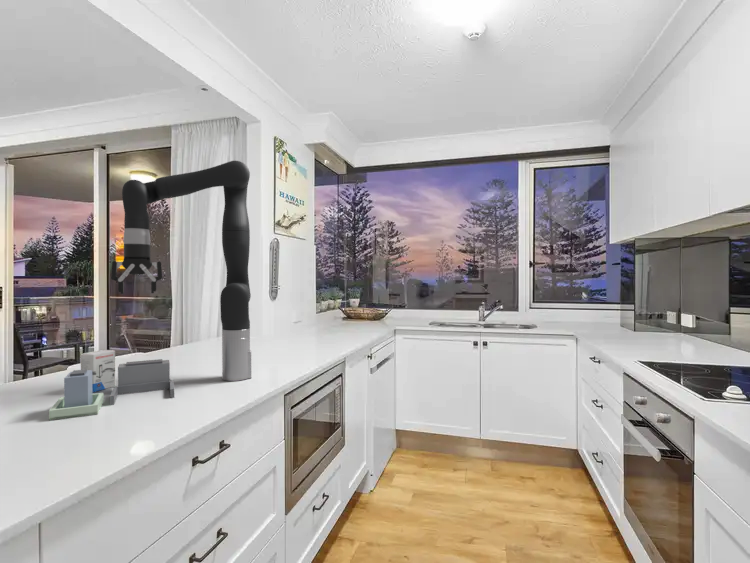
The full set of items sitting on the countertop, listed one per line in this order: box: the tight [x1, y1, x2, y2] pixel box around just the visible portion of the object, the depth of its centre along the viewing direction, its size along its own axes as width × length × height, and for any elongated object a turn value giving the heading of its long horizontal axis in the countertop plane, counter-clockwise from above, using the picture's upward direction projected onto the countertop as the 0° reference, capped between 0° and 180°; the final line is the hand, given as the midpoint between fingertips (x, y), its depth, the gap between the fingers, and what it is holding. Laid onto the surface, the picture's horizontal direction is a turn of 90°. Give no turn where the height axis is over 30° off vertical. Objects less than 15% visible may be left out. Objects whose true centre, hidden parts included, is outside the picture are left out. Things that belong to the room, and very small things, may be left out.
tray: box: [48, 392, 105, 421], centre depth 110 cm, size 10×13×2 cm
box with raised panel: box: [63, 369, 93, 408], centre depth 110 cm, size 5×8×10 cm, turn 28°
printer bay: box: [109, 358, 175, 406], centre depth 126 cm, size 16×18×9 cm
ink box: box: [80, 349, 116, 393], centre depth 131 cm, size 9×5×12 cm, turn 168°
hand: (137, 293), depth 134 cm, fingers open, 8 cm apart
